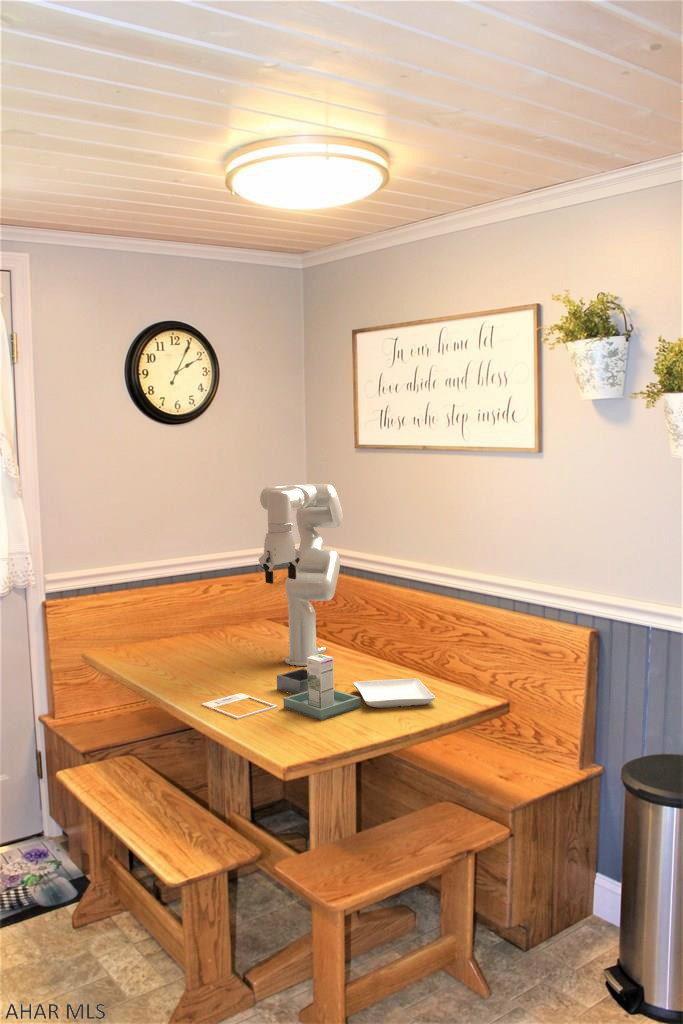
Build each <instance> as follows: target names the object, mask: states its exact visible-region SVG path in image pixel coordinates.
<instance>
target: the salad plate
mask: <svg viewBox="0 0 683 1024" xmlns="http://www.w3.org/2000/svg"><path fill="white" fill-rule="evenodd" d="M352 685H353V686H354V688H355V689H356V690H357V691H358V692H359V694H360V695H361V697H362V699H363V701H364V702H365V703H366V705H368V706H369V707H372V708H379V709H380V708H382V709H383V708H399V707H398V706H401V707H411V705H415V706H423V705H428V704H430V703H432V702H434V700H435V699H436V696H435V695H434V694H433V693H432V692H431V691H430V690H429V689H428V687H426V686H425V685H424V684H423V683H422V681H421V680H420V679H418V678H398V679H397V678H396V679H395V678H394V679H377V680H374V679H373V680H363V681H362V680H361V681H353V682H352Z"/></svg>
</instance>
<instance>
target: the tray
mask: <svg viewBox="0 0 683 1024" xmlns="http://www.w3.org/2000/svg"><path fill="white" fill-rule="evenodd" d="M361 703H362V701H361V696H356V695H353V694H350V693H346V692H343V691H340V690H336V689H334V705H331V706H328V707H325V708H321V709H320V708H317V707H314V706H311V705H308V691H306V692H303V693H299V694H296V695H293V694H291V695H290V696H286V697H283V709H285V710H287V711H291V712H293V713H297V714H300V715H302V716H306V717H309V718H312V719H315V720H317V721H320V722H321V721H325V720H326V719H330V718H334V717H336V716H340V715H342V714H345V713H349V712H351V711H354V710H357V709H360V708H361V707H362V706H361Z"/></svg>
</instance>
